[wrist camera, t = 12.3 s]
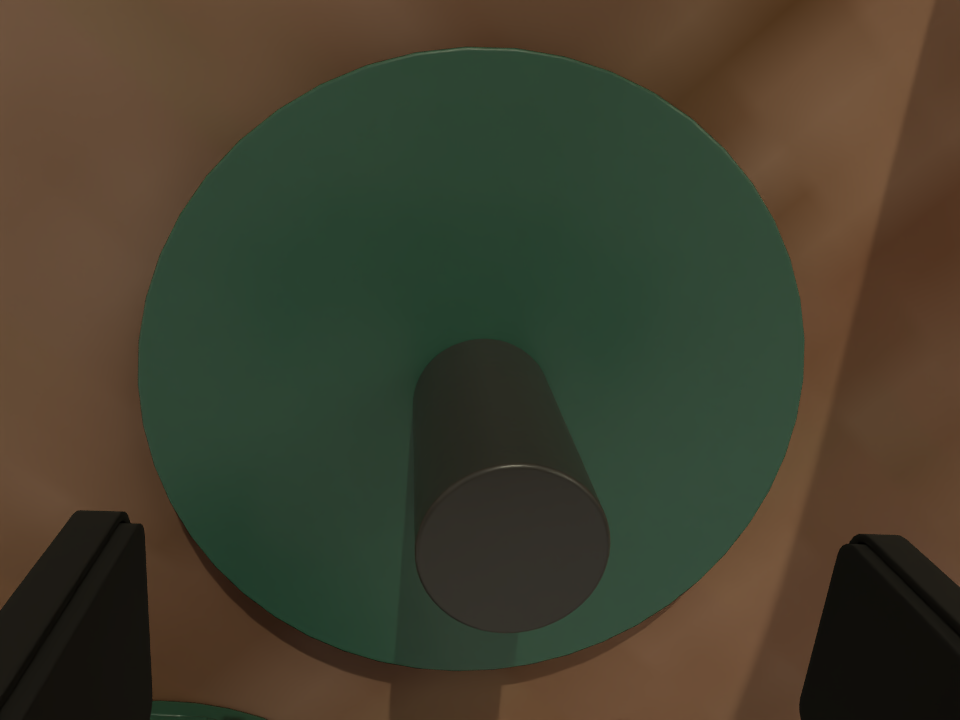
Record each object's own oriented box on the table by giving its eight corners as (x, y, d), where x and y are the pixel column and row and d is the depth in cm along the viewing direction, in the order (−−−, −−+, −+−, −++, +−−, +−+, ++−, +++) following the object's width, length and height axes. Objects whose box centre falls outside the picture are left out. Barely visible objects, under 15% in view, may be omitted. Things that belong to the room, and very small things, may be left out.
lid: (847, 82, 16) (1120, 93, 10) (719, 646, 21) (852, 894, 14) (137, 12, 15) (-62, -27, 8) (166, 635, 19) (49, 905, 13)
